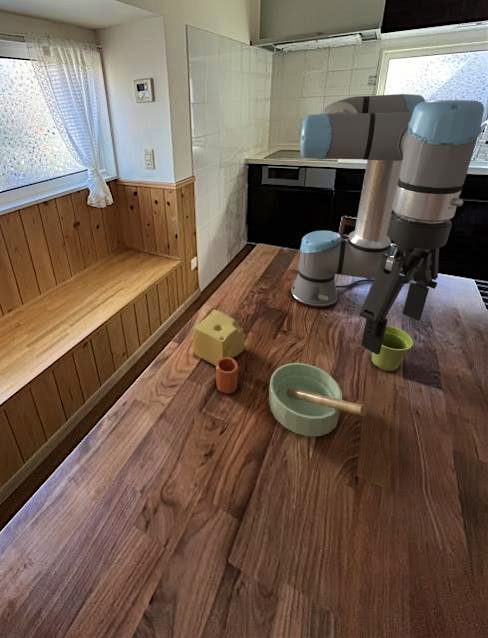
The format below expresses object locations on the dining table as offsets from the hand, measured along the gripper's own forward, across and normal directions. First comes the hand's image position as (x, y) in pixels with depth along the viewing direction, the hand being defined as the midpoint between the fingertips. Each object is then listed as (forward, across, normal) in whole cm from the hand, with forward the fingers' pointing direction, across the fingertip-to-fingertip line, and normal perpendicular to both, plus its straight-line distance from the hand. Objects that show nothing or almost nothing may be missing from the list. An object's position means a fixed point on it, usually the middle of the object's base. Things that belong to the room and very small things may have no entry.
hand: (391, 332), depth 57 cm
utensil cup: (+28, -13, +28) cm, 42 cm away
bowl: (+28, -3, +13) cm, 31 cm away
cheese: (+29, -8, +38) cm, 48 cm away
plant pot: (+29, +25, +9) cm, 39 cm away
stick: (+27, -3, +17) cm, 32 cm away
